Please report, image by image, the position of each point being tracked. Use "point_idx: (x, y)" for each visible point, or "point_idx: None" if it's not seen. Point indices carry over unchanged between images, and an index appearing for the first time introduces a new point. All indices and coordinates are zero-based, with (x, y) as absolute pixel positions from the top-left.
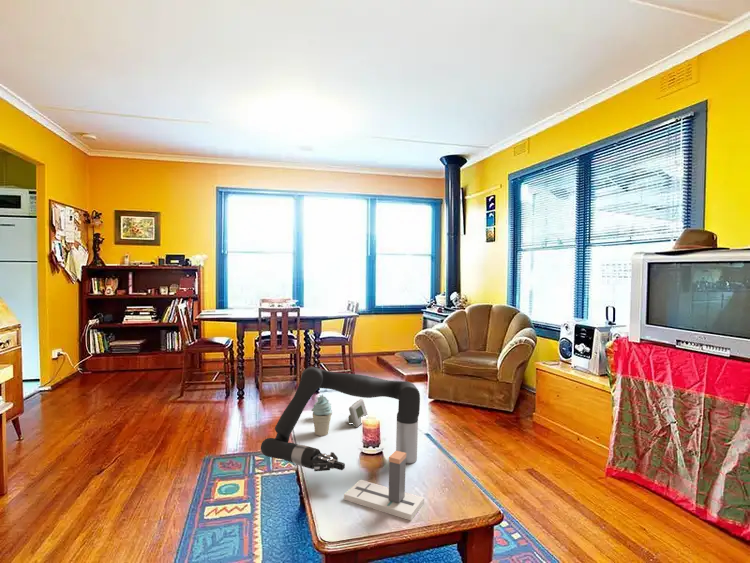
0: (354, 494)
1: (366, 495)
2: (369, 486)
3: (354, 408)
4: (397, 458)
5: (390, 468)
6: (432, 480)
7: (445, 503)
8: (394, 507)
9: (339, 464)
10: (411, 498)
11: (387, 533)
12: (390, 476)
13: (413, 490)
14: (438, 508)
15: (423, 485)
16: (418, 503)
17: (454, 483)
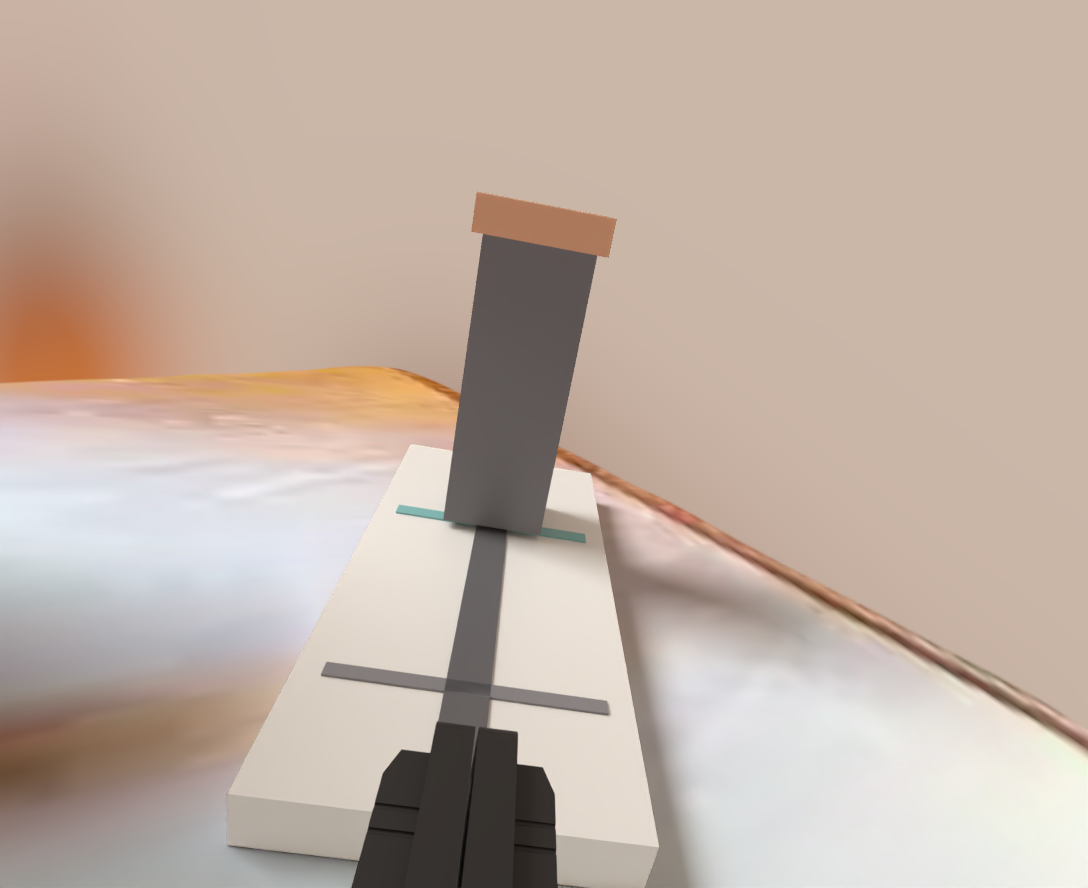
0: (592, 743)
1: (546, 653)
2: (378, 667)
3: None
4: (600, 215)
5: (584, 312)
6: (118, 445)
7: (377, 428)
8: (580, 517)
9: (512, 803)
10: (445, 473)
11: (742, 553)
12: (573, 370)
13: (274, 500)
14: (430, 443)
15: (195, 471)
16: None
17: (161, 398)
